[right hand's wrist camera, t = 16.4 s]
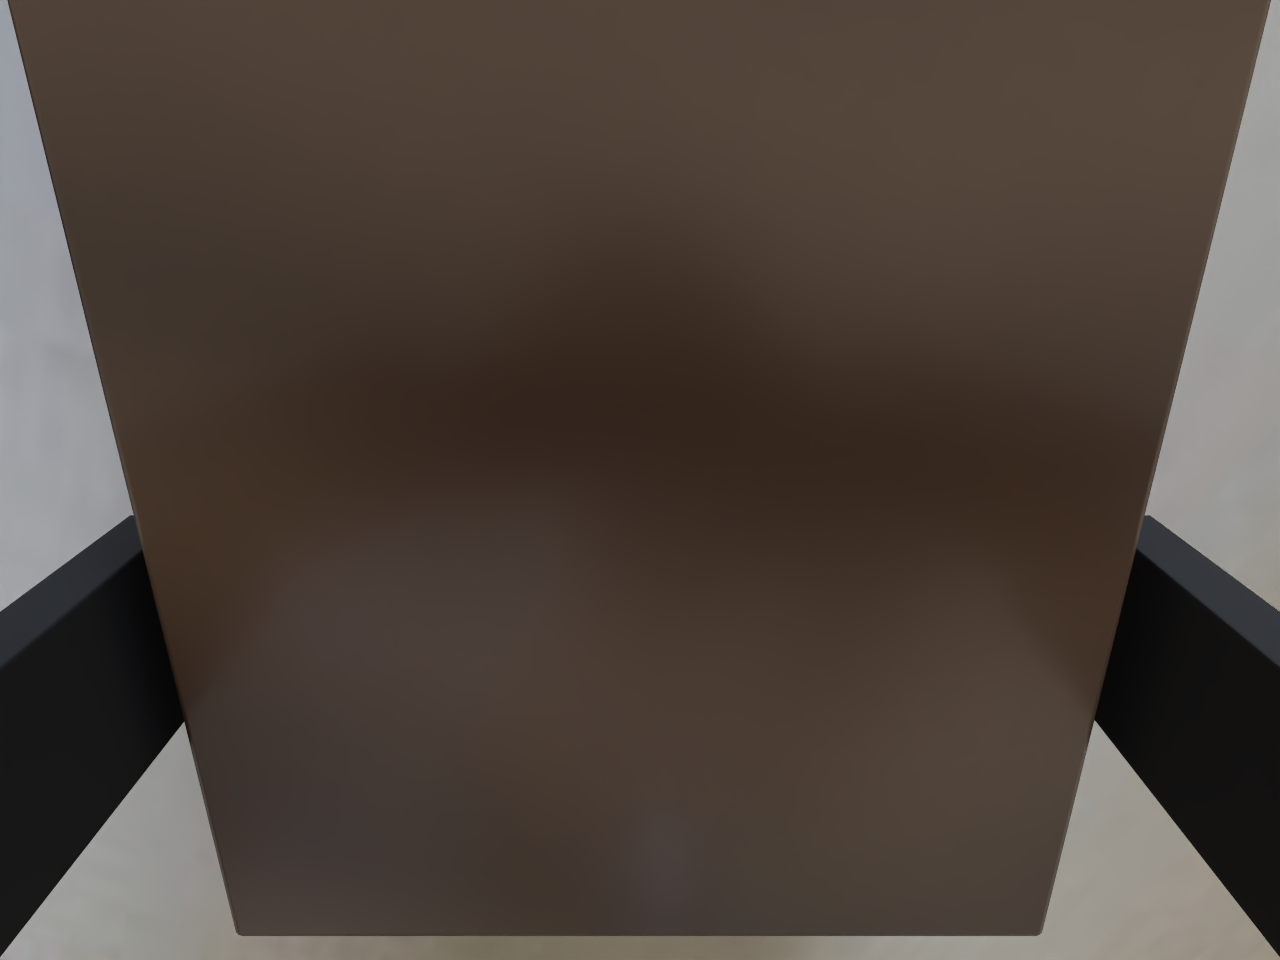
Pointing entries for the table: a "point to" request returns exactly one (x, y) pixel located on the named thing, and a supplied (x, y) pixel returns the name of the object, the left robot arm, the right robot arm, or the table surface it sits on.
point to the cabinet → (639, 433)
